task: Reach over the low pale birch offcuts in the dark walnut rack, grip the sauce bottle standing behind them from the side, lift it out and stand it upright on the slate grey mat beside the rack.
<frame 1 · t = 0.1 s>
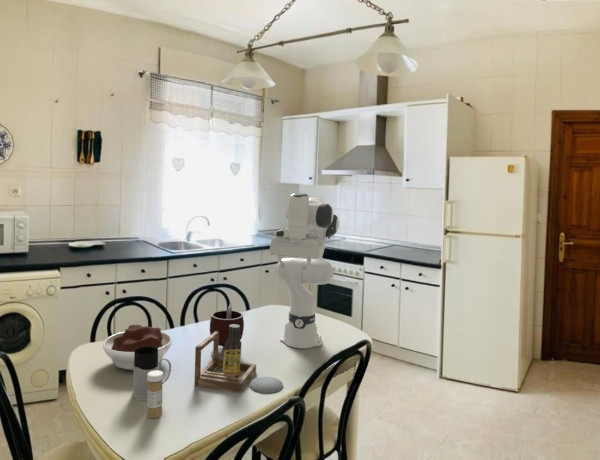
hand: (293, 268, 181), 39 cm above the table, tool pointing down, fingers open, 8 cm apart
birch offcuts: (221, 384, 163), resting in walnut rack
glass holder: (152, 396, 152), on the table
mate gourd: (226, 354, 191), on the table
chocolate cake: (137, 364, 176), on the table
walnut rack: (226, 378, 168), on the table
sprinkles bottle: (154, 415, 140), on the table
slate mat: (266, 385, 164), on the table
sauce bottle: (231, 378, 169), resting in walnut rack
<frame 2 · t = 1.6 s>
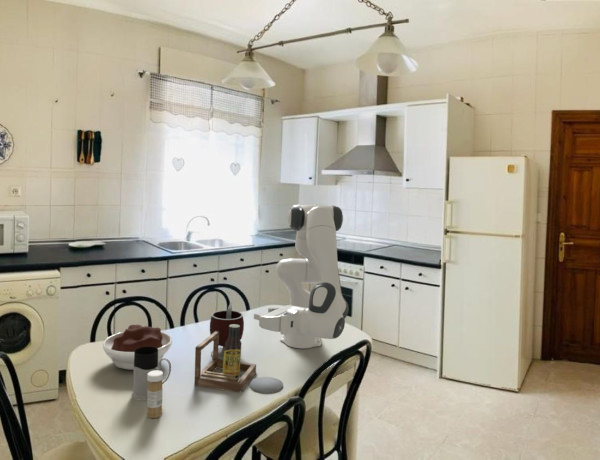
hand: (262, 312, 160), 27 cm above the table, tool horizontal, fingers open, 8 cm apart
nothing on the table moved.
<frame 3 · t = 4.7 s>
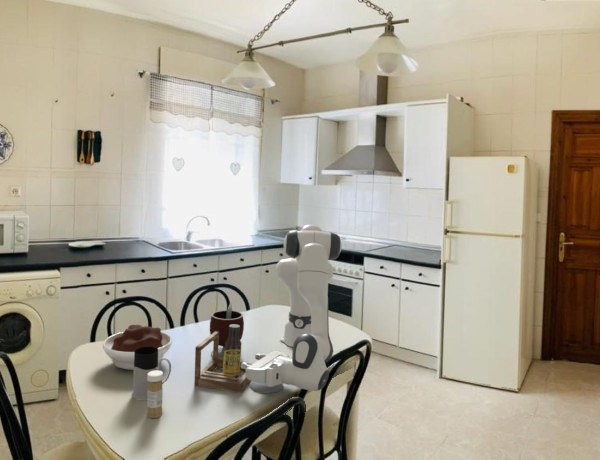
hand: (249, 360, 165), 8 cm above the table, tool horizontal, fingers open, 8 cm apart
nothing on the table moved.
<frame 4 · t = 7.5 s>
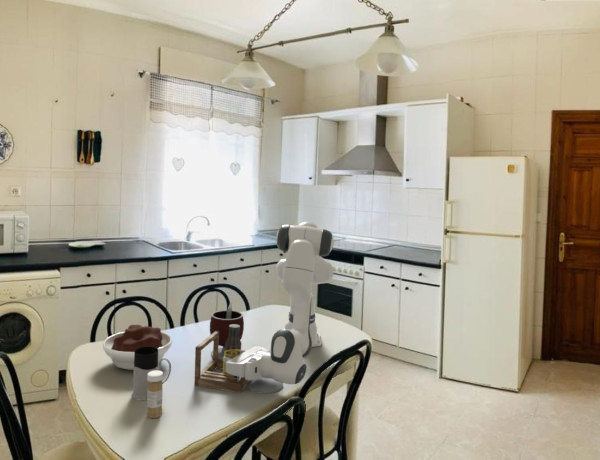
hand: (230, 355, 168), 9 cm above the table, tool horizontal, fingers closed on sauce bottle, 6 cm apart
sauce bottle: (231, 378, 169), resting in walnut rack, touching gripper
everything else where it was.
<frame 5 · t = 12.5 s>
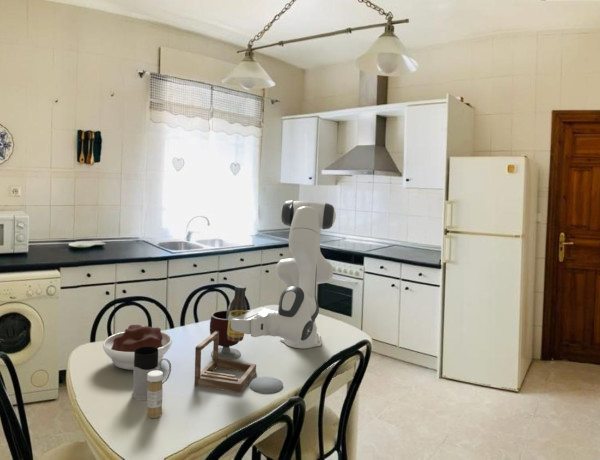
hand: (235, 314, 166), 24 cm above the table, tool horizontal, fingers closed on sauce bottle, 6 cm apart
sauce bottle: (235, 339, 167), point 15 cm above the table, touching gripper
everything else where it was.
when the fingers open (10 cm above the table, at t = 17.4 s): sauce bottle stays where it is, resting on slate mat.
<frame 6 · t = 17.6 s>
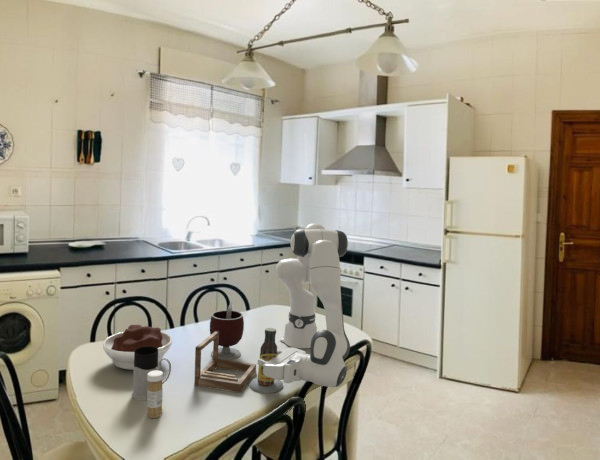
hand: (265, 356, 163), 10 cm above the table, tool horizontal, fingers open, 8 cm apart
sauce bottle: (266, 383, 165), resting on slate mat, touching gripper
everything else where it was.
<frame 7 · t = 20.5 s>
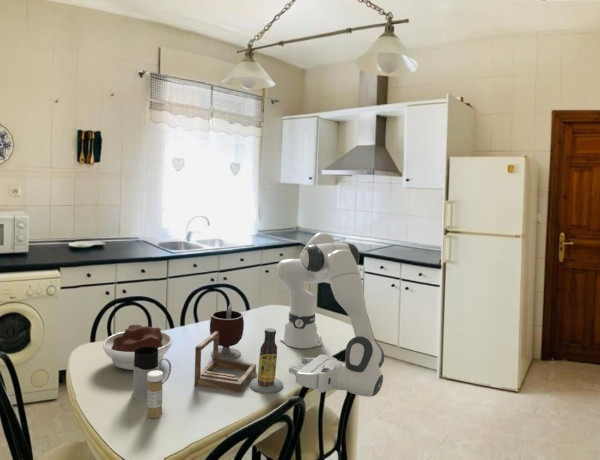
hand: (296, 364, 158), 11 cm above the table, tool horizontal, fingers open, 8 cm apart
sauce bottle: (266, 383, 165), resting on slate mat
everything else where it was.
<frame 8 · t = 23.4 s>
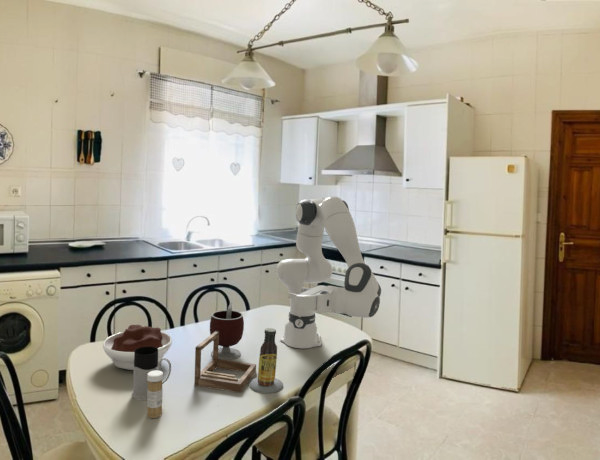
hand: (295, 292, 163), 34 cm above the table, tool horizontal, fingers open, 8 cm apart
nothing on the table moved.
at the end: sauce bottle inside the target area on the slate mat (0.6 cm from its centre), point 0.4 cm above the slate mat's base; sauce bottle tilted 0°; the gripper is holding nothing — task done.
